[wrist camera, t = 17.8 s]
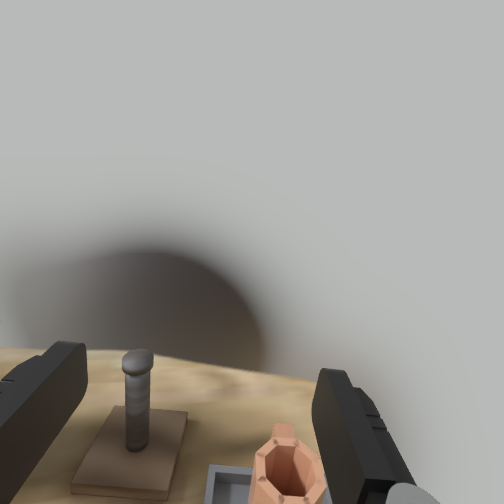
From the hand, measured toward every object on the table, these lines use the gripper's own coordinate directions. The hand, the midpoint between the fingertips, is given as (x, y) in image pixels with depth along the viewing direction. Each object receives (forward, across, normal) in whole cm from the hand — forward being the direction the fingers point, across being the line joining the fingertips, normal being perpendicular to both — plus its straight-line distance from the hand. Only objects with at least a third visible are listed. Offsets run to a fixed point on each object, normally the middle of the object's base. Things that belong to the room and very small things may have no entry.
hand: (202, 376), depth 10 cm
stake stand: (+18, +9, +28) cm, 34 cm away
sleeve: (+8, -7, +27) cm, 29 cm away
